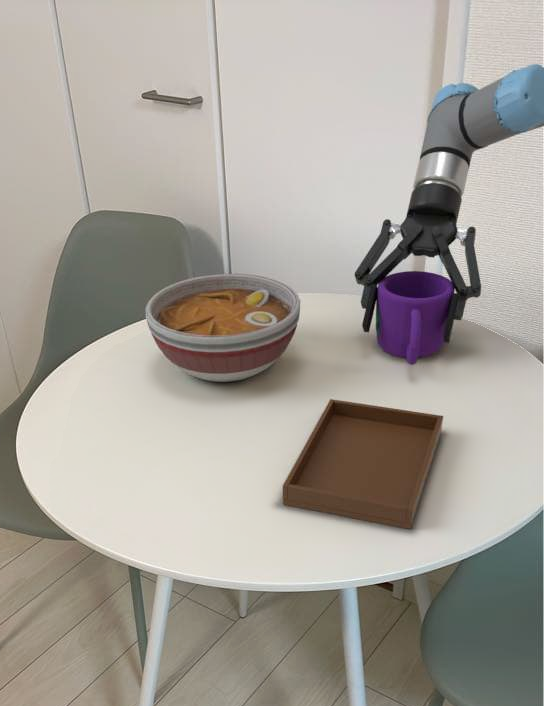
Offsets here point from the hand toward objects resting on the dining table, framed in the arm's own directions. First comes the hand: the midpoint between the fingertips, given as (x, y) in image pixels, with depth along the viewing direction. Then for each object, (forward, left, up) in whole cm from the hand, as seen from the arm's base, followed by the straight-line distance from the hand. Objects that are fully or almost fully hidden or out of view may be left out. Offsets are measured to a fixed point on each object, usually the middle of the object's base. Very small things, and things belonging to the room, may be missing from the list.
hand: (405, 334), depth 112 cm
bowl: (+26, +8, -5) cm, 27 cm away
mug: (-1, -2, -5) cm, 5 cm away
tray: (-1, +29, -4) cm, 29 cm away
